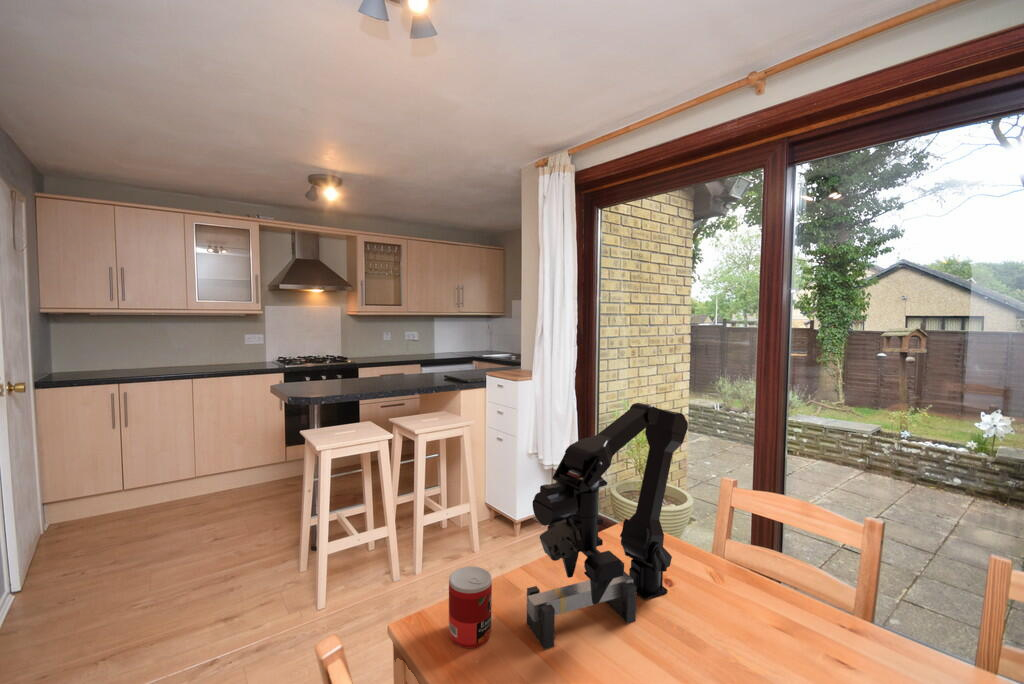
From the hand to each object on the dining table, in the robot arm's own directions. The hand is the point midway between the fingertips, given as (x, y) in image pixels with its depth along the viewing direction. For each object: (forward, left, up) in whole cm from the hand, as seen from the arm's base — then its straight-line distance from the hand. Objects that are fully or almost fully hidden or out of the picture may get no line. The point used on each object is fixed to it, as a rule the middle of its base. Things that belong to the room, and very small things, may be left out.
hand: (582, 589), depth 88 cm
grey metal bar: (0, 0, -2) cm, 3 cm away
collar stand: (0, 0, -6) cm, 6 cm away
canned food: (+21, -5, -7) cm, 23 cm away
